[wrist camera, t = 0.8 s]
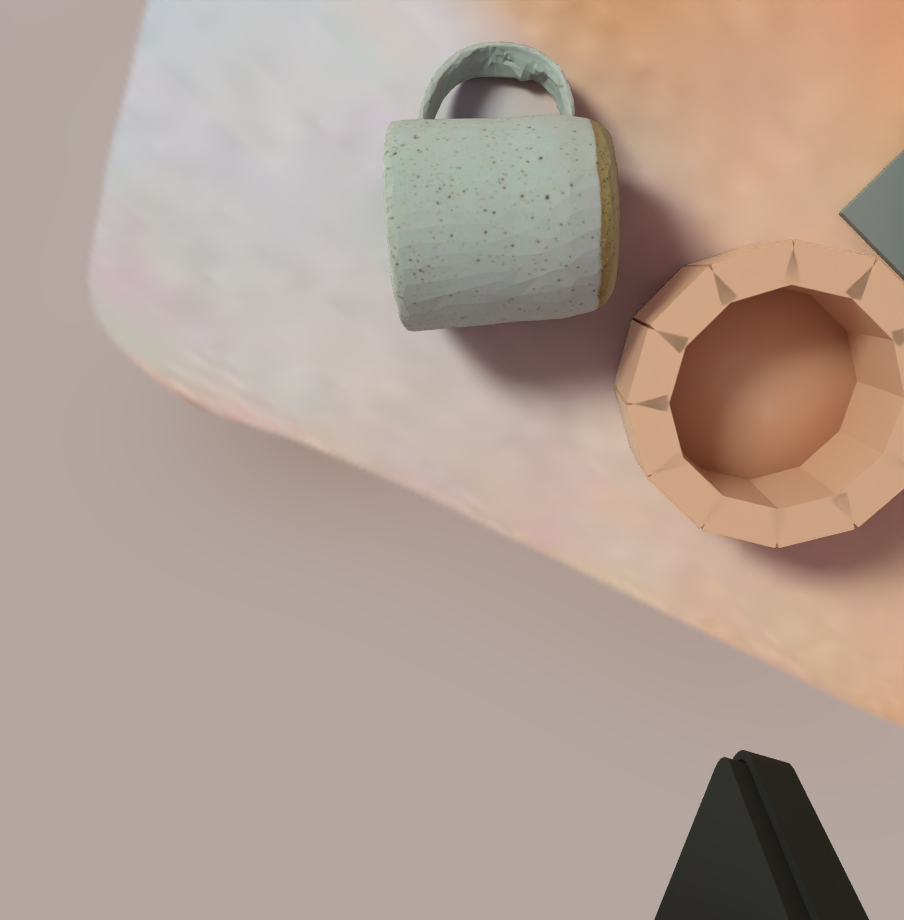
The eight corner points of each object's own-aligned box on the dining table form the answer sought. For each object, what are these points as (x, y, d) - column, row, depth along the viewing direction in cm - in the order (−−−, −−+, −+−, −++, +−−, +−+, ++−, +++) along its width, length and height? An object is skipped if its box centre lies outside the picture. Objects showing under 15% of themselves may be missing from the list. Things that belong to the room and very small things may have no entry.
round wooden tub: (758, 189, 32) (797, 176, 28) (943, 377, 33) (1012, 395, 29) (564, 386, 35) (569, 405, 30) (741, 555, 36) (774, 599, 31)
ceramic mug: (607, 311, 34) (629, 318, 27) (417, 327, 35) (386, 338, 28) (595, 41, 32) (614, -34, 25) (392, 65, 33) (352, 0, 25)
